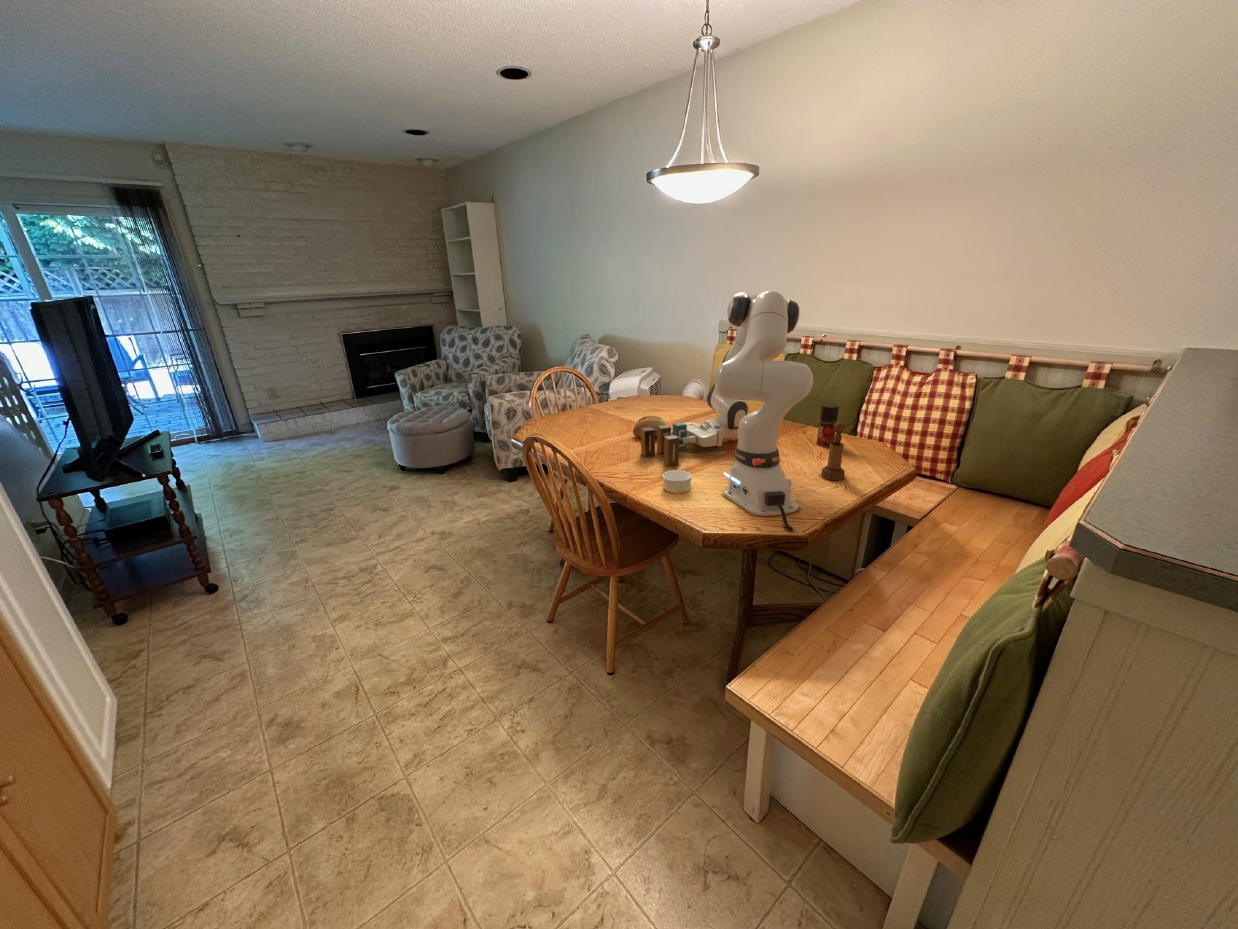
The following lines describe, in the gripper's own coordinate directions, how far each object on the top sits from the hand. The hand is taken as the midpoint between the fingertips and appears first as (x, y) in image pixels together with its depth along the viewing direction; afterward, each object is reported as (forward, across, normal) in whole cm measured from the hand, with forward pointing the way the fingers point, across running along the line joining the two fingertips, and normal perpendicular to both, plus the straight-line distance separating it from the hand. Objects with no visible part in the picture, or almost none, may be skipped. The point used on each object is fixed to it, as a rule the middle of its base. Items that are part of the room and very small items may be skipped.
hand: (677, 436), depth 177 cm
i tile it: (+12, 0, +5) cm, 13 cm away
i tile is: (+9, +12, +5) cm, 16 cm away
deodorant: (-52, +19, +5) cm, 56 cm away
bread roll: (+2, -20, +5) cm, 20 cm away
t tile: (+6, 0, +5) cm, 8 cm away
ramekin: (+16, +30, +6) cm, 35 cm away
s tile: (-1, 0, +5) cm, 5 cm away
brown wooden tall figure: (-32, +44, +5) cm, 55 cm away
